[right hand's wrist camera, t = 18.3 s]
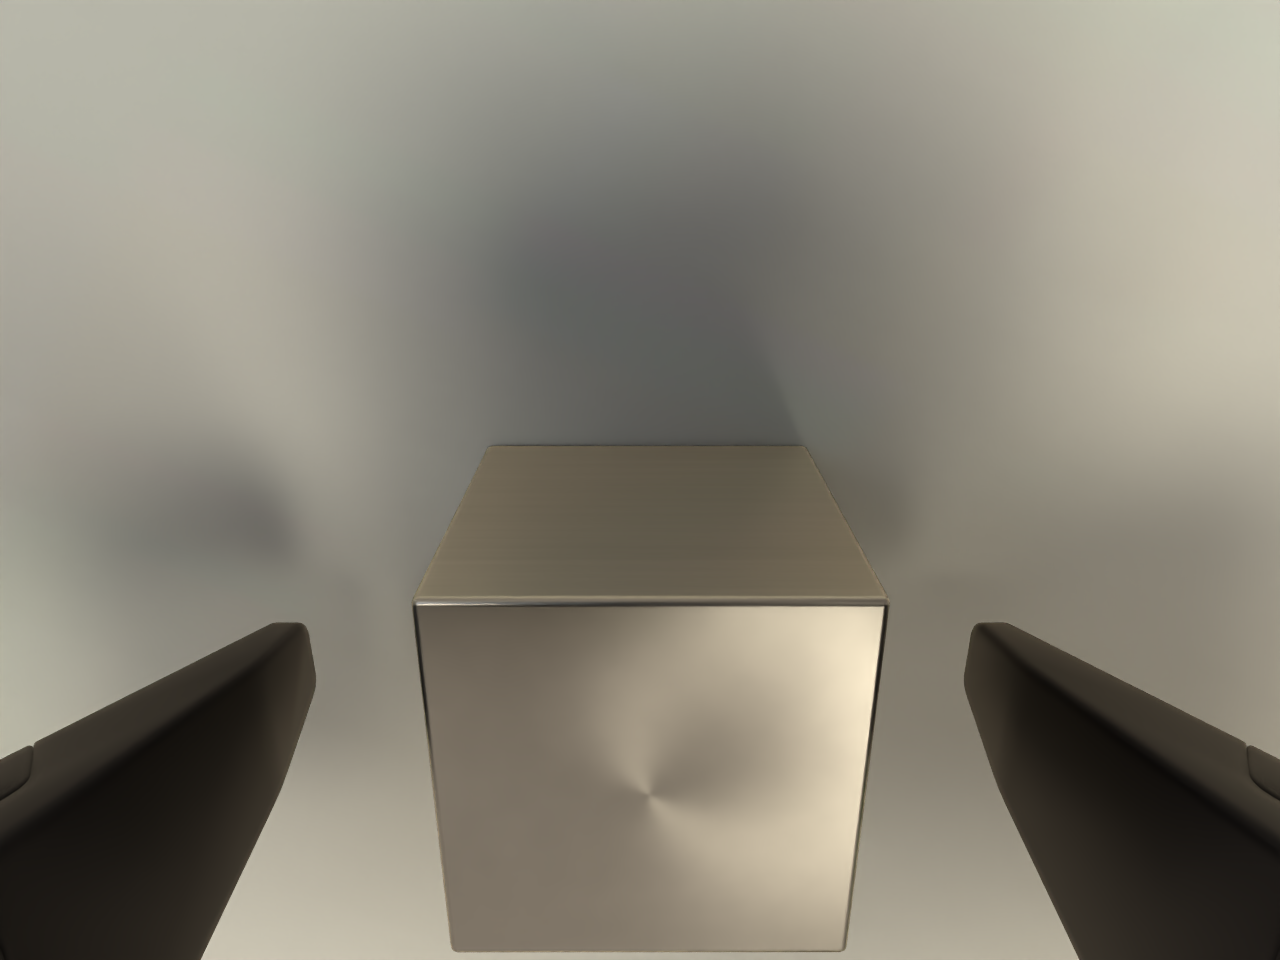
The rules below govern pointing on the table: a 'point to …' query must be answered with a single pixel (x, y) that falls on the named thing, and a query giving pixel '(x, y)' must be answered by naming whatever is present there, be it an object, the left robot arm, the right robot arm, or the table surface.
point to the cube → (649, 701)
